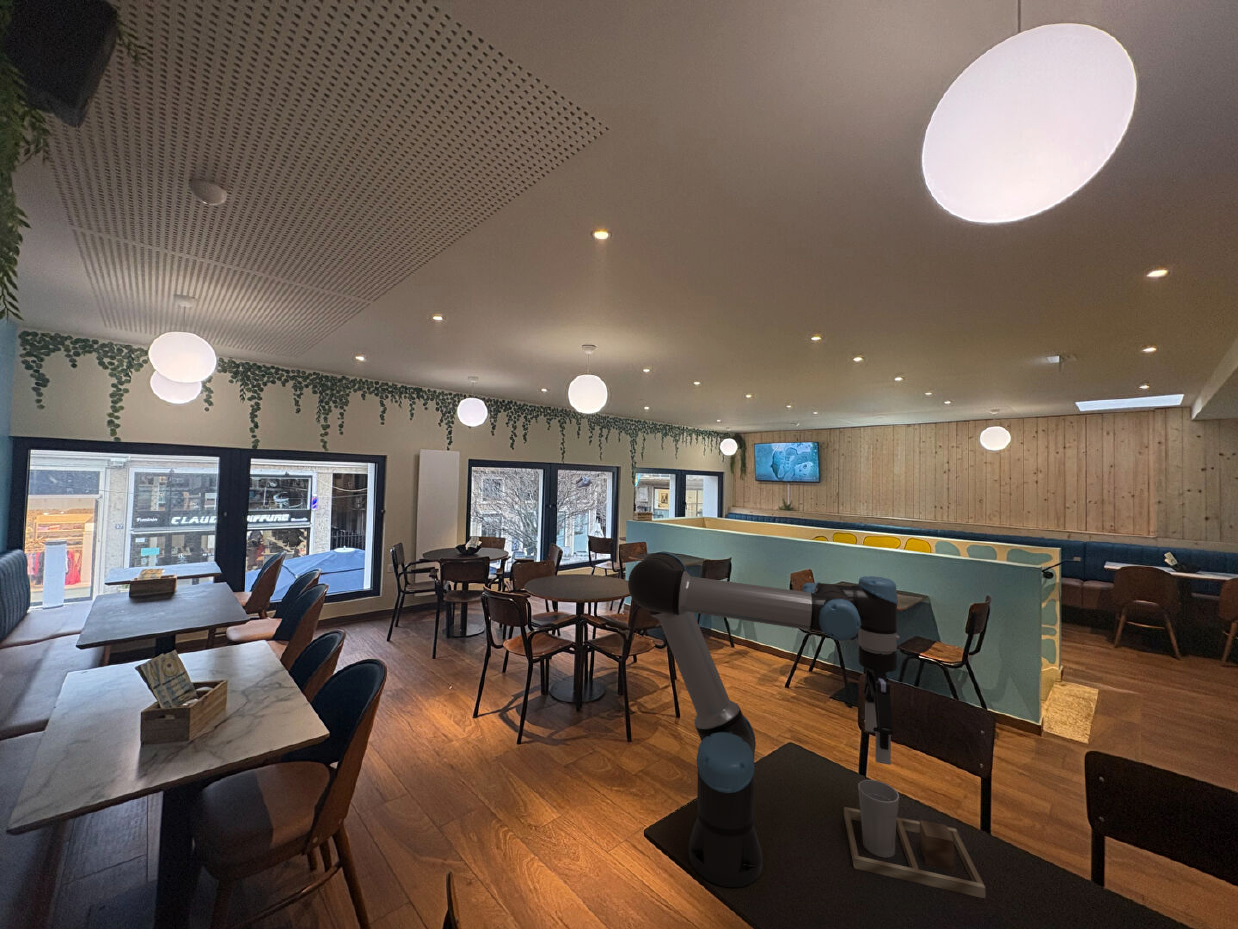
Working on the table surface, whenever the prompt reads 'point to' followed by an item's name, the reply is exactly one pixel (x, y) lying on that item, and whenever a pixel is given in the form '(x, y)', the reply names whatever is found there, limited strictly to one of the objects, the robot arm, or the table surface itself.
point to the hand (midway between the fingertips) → (877, 746)
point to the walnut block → (936, 845)
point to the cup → (878, 816)
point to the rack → (912, 872)
